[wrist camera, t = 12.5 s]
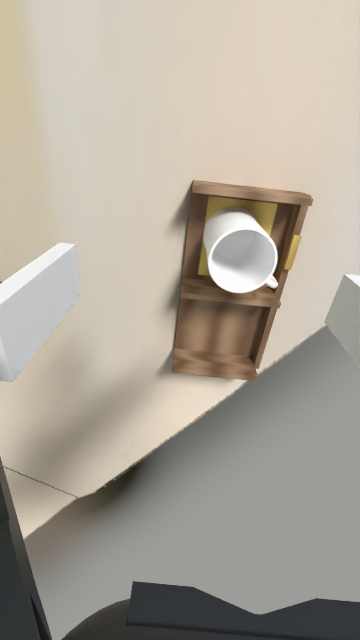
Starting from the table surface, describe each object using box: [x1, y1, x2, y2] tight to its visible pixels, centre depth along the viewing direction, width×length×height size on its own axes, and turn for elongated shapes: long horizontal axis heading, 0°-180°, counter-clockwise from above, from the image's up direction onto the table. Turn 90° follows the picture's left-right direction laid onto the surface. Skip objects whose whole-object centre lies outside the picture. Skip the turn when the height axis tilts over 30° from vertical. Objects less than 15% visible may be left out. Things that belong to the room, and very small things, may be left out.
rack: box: [172, 180, 313, 381], centre depth 46 cm, size 16×30×7 cm, turn 174°
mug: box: [203, 207, 278, 293], centre depth 40 cm, size 12×8×12 cm
